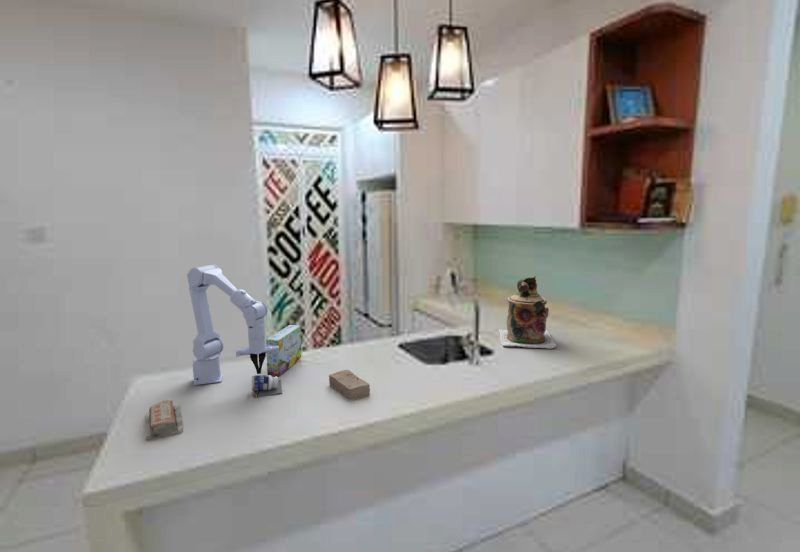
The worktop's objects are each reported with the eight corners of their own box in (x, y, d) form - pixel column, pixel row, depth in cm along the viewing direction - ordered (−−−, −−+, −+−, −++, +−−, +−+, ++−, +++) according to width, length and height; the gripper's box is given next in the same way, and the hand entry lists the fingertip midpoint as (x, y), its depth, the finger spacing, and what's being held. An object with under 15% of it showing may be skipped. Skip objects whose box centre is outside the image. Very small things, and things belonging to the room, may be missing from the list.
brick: (371, 395, 160) (371, 382, 159) (350, 401, 155) (350, 388, 154) (347, 380, 173) (347, 368, 172) (328, 385, 168) (327, 373, 167)
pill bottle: (252, 372, 162) (277, 371, 164) (251, 383, 164) (277, 382, 167) (251, 382, 157) (278, 381, 160) (251, 394, 160) (277, 392, 162)
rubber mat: (258, 396, 158) (258, 395, 158) (258, 383, 169) (258, 382, 169) (282, 393, 160) (282, 392, 160) (280, 380, 171) (280, 379, 171)
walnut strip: (254, 397, 157) (254, 395, 157) (254, 383, 169) (254, 381, 169) (257, 397, 158) (257, 394, 158) (257, 383, 169) (257, 381, 169)
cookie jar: (497, 331, 231) (500, 270, 226) (547, 333, 228) (551, 271, 222) (501, 348, 207) (504, 279, 202) (557, 350, 204) (561, 280, 198)
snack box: (280, 377, 175) (278, 340, 172) (266, 376, 176) (264, 339, 173) (302, 358, 195) (301, 324, 192) (290, 357, 196) (288, 323, 193)
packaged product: (182, 418, 134) (144, 427, 129) (184, 433, 134) (145, 442, 130) (179, 395, 149) (144, 402, 144) (180, 409, 150) (146, 416, 145)
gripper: (234, 342, 154) (237, 379, 157) (278, 338, 158) (280, 374, 161) (235, 336, 161) (238, 372, 163) (277, 332, 165) (279, 367, 167)
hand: (259, 372), depth 162 cm, fingers closed
